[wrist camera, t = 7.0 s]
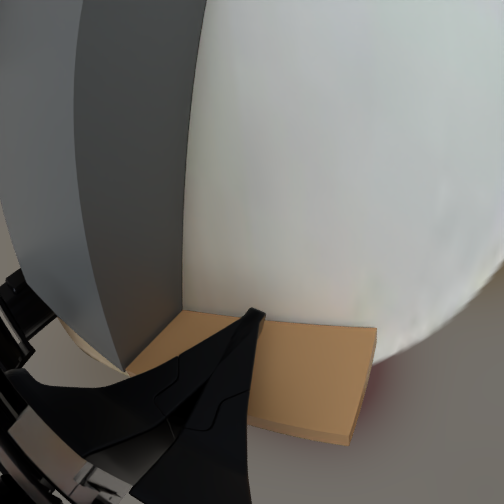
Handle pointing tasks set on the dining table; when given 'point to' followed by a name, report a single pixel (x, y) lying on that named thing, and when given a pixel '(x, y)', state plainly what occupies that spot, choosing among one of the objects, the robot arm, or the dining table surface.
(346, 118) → the dining table surface
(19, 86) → the box
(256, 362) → the side door
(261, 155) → the dining table surface
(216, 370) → the robot arm
